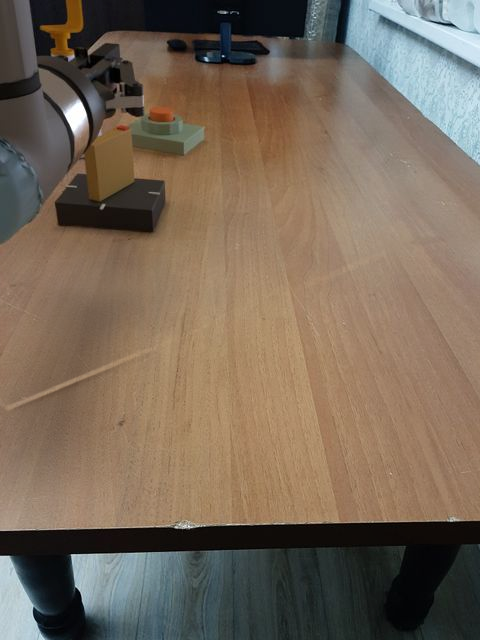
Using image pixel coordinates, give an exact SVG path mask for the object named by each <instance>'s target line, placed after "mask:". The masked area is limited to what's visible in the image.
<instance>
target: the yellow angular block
mask: <svg viewBox="0 0 480 640" xmlns="http://www.w3.org/2000/svg"><path fill="white" fill-rule="evenodd" d="M127 126H128V125H118V126H115V127H116V128H114V129H112V130H110V131H108V132H105V133H103V134H101V135H100V136H98V137H97V138H96V139H95V141H94V142H93V143H92V144H91V146H90V147H89V148H88V149H87V151H86V152H85V153H84V158H83V159H84V166H85V174H86V175H87V184H88V193H89V199H91V200H94V201H98V202H100V201H102V200H104V199H105V198H107V197H109V196H111V195H112V194H114V193H116V192H118V191H119V190H121V189H123V188H125V187H126V186H128V185H130V184H131V183H133V182H134V178H135V169H134V167H135V165H134V153H133V152H134V151H133V147H132V134H131V129H129V127H127Z"/></svg>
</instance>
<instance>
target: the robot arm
mask: <svg viewBox="0 0 480 640" xmlns="http://www.w3.org/2000/svg"><path fill="white" fill-rule="evenodd" d="M120 48H121V47H120V43H111V42H104V43H103V44H102V45H101V46H99V47H98V48H96V49H95V50H94V51H92V52H91V53H89V50H88V48H87V47H81V46H80V47H75V48H74V55H75V56H74V57H75V58H73V59H72V60H70V61H68V57H67V56H64V55H59V56H55V57H53V56H51V55H37V52H36V51H37V50H36V43H35V35H34V27H33V20H32V13H31V3H30V0H0V246H1V245H3V244H5V243H6V242H8V241H10V240H11V239H12V238H13V237H14V236H15V235H16V234H17V233H18V232H19V231H20V230H21V229H22V228H24V227H25V226H26V225H28V224H29V223H31V222H33V221H34V220H35V219H36V218H37V216H38V214H39V213H40V211H41V209H42V207H43V205H44V204H45V202H46V201H47V200H48V199H49V198H50V196H51V195H52V193H53V192H54V191H55V190H56V189H57V187H58V186H59V185H60V183H61V182H62V181H63V179H64V178H65V177H66V175H68V174H69V172H70V171H71V170H72V168H73V167H74V166H75V165H76V164H77V162H78V161H79V160H80V159H81V158H80V157H81V156H82V155H83V154H84V153H85V152H86V151H87V149H88V148H89V147H90V146H91V144H92V143H93V142H94V141H95V139H96V138H97V136H98V134H99V132H100V129H101V130H102V126H103V124H104V120H107V119H110V118H113V117H114V116H115V115H116V113H117V110H119V109H120V113H122V114H129V115H130V116H132V117H135V118H141V117H142V116H144V115H145V114H146V113H145V95H144V94H145V93H144V84H142V83H141V82H139V81H138V80H136V77H135V71H134V65H133V62H132V61H130V60H127V59H124V58H123V57H121V49H120ZM118 87H119V90H118Z"/></svg>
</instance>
